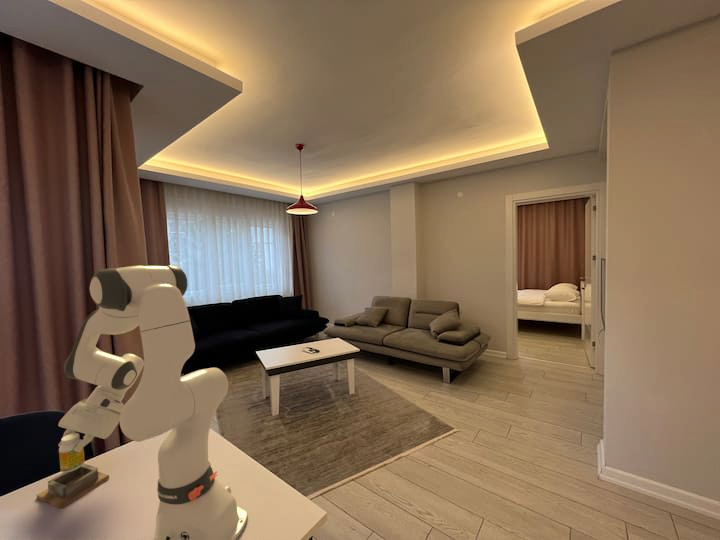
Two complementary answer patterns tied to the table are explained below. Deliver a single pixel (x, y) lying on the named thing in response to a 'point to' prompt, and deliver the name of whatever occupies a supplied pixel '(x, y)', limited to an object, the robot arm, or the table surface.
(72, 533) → the table surface
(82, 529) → the table surface
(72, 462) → the supplement bottle
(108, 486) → the table surface
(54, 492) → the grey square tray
